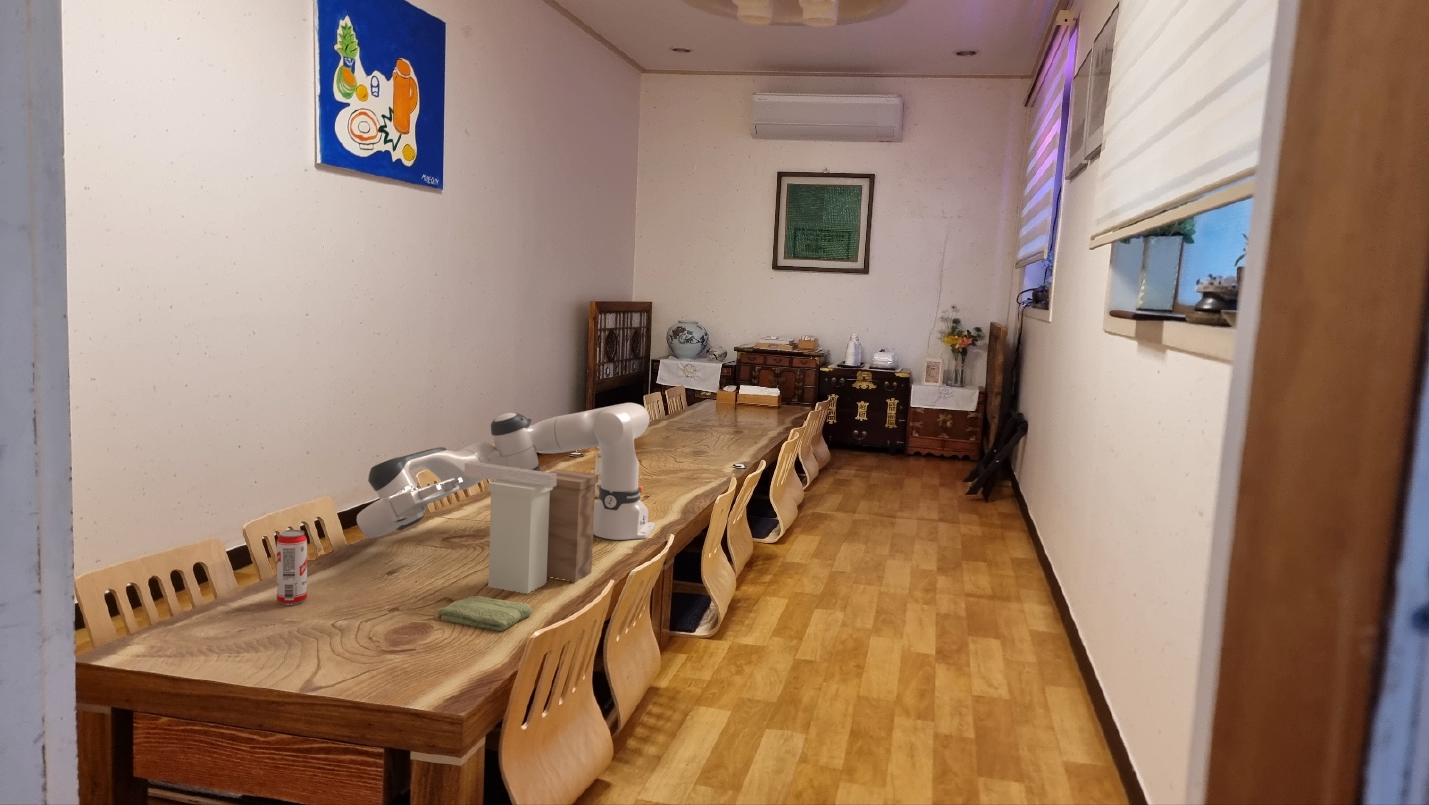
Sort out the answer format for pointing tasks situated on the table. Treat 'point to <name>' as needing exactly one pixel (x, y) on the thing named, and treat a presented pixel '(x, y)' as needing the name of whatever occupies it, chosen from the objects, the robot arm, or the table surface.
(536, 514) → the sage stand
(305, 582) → the beer can
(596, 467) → the coffeecake box
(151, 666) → the table surface
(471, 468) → the bar
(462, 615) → the washcloth
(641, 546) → the table surface
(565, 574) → the walnut stand
